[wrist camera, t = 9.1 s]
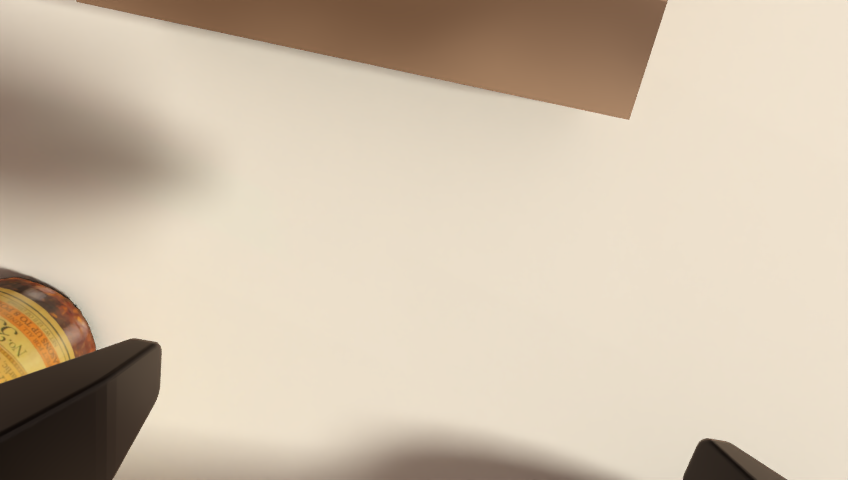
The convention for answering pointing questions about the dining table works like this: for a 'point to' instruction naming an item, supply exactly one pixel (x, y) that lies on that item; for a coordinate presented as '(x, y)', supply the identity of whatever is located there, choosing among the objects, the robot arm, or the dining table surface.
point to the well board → (455, 39)
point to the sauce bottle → (38, 328)
